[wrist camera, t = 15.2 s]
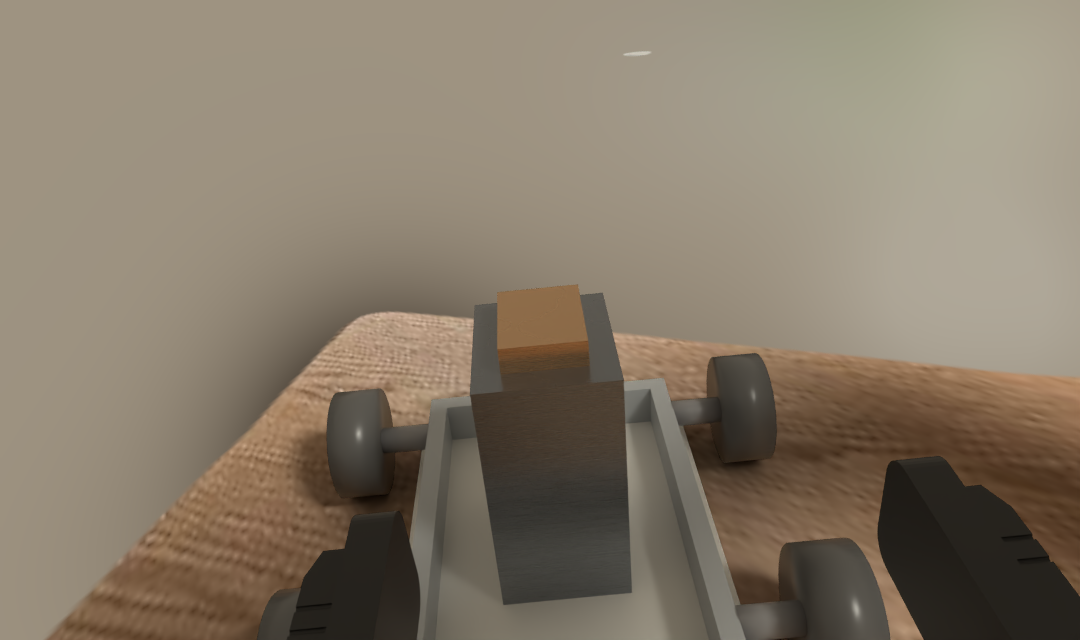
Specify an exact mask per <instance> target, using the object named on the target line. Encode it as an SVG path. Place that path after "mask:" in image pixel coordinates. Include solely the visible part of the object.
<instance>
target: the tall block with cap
mask: <svg viewBox="0 0 1080 640" xmlns="http://www.w3.org/2000/svg"><path fill="white" fill-rule="evenodd" d="M497 294H498V295H497V296H498V297H497V303H493V304H483V305H475V311H474V329H473V348H472V366H471V384H470V398H471V405H472V411H473V417H474V423H475V430H476V436H477V442H478V449H479V455H480V461H481V467H482V474H483V480H484V486H485V493H486V499H487V505H488V512H489V518H490V524H491V530H492V537H493V543H494V549H495V556H496V562H497V568H498V574H499V581H500V587H501V593H502V600H503V605H509V604H520V603H530V602H541V601H551V600H562V599H572V598H582V597H593V596H603V595H614V594H624V593H632V580H631V554H630V528H629V502H628V477H627V451H626V425H625V399H624V379H623V375H622V371H621V367H620V362H619V358H618V354H617V350H616V346H615V342H614V338H613V333H612V329H611V326H610V321H609V317H608V313H607V309H606V305H605V300H604V297H603V293H598V294H597V293H596V294H586V295H580V294H579V289H578V285H567V286H557V287H547V288H536V289H526V290H515V291H505V292H498V293H497Z"/></svg>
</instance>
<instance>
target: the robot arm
mask: <svg viewBox="0 0 1080 640" xmlns="http://www.w3.org/2000/svg"><path fill="white" fill-rule="evenodd" d="M878 542H879V548H880V552H881V555H882V559H883V561H884V564H885V566H886V568H887V570H888V572H889V574H890V576H891V578H892V580H893V582H894V583H895V585H896V587H897V589H898V591H899V593H900V595H901V597H902V599H903V601H904V603H905V605H906V606H907V608H908V610H909V612H910V614H911V616H912V618H913V620H914V622H915V624H916V626H917V627H918V629H919V631H920V633H921V635H922V637H923V639H924V640H1080V596H1079V595H1078V594H1077V592H1076V591H1075V590H1074V588H1073V587H1072V586H1071V584H1070V583H1069V582H1068V580H1067V579H1066V578H1065V576H1064V575H1063V574H1062V572H1061V571H1060V570H1059V569H1058V567H1057V566H1056V565H1055V563H1054V562H1050V560H1049V555H1048V554H1047V553H1046V551H1045V550H1044V549H1043V547H1042V546H1041V545H1040V544H1039V542H1038V541H1037V540H1036V539H1033V537H1032V533H1031V532H1030V530H1029V529H1028V528H1027V526H1026V525H1025V524H1024V522H1023V521H1022V520H1021V518H1020V517H1019V516H1018V515H1017V513H1016V512H1015V511H1014V509H1013V508H1012V507H1011V506H1010V505H1008V504H1007V503H1005V502H1004V501H1003V500H1001V499H1000V498H998V497H997V496H996V495H994V494H993V493H991V492H990V491H989V490H987V489H986V488H984V487H983V486H982V485H975V486H966V487H965V486H964V485H963V483H962V482H961V480H960V479H959V478H958V476H957V475H956V473H955V472H954V471H953V469H952V468H951V466H950V465H949V464H948V462H947V461H946V460H945V459H944V458H942V457H940V456H934V457H924V458H915V459H905V460H895V461H891V462H890V463H889V465H888V467H887V472H886V478H885V484H884V490H883V497H882V503H881V509H880V516H879V522H878ZM419 616H420V583H419V576H418V572H417V568H416V564H415V560H414V557H413V553H412V549H411V546H410V542H409V538H408V535H407V531H406V527H405V524H404V520H403V517H402V514H401V513H400V511H391V512H381V513H371V514H362V515H355V516H354V517H353V518H352V520H351V523H350V527H349V532H348V536H347V540H346V545H345V549H338V550H329V551H323V552H322V554H321V555H320V556H319V558H318V559H317V560H316V562H315V563H314V565H313V566H312V567H311V569H310V570H309V571H308V573H307V574H306V575H305V577H304V579H303V582H302V586H301V590H300V593H299V597H298V600H297V604H296V612H294V615H293V618H292V622H291V625H290V629H289V632H290V634H289V636H288V637H287V640H417V634H418V625H419Z"/></svg>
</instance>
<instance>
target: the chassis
mask: <svg viewBox="0 0 1080 640" xmlns="http://www.w3.org/2000/svg"><path fill="white" fill-rule="evenodd" d="M624 399H625V425H626V451H627V477H628V502H629V528H630V554H631V580H632V593H624V594H614V595H603V596H593V597H582V598H572V599H562V600H551V601H541V602H530V603H520V604H509V605H503V600H502V593H501V587H500V581H499V574H498V568H497V562H496V556H495V549H494V543H493V537H492V530H491V524H490V518H489V512H488V505H487V499H486V493H485V486H484V480H483V474H482V467H481V461H480V455H479V449H478V442H477V436H476V430H475V423H474V417H473V411H472V405H471V398H470V396H466V397H456V398H445V399H434V400H432V402H431V409H430V417H429V424H422V425H412V426H401V427H393V423H392V416H391V411H390V407H389V403H388V400H387V397H386V395H385V393H384V391H383V390H382V389H369V390H359V391H348V392H338V393H336V394H335V395H334V396H333V398H332V400H331V403H330V407H329V412H328V419H327V452H328V461H329V468H330V473H331V477H332V481H333V484H334V487H335V489H336V491H337V493H338V494H339V496H340V497H341V498H351V497H362V496H373V495H384V494H388V493H389V492H390V490H391V487H392V483H393V478H394V468H395V453H396V452H407V451H417V450H422V452H421V459H420V467H419V474H418V481H417V488H416V496H415V503H414V510H413V517H412V525H411V532H410V539H409V542H410V546H411V549H412V553H413V557H414V560H415V564H416V568H417V572H418V576H419V583H420V616H419V625H418V634H417V640H774V639H784V638H787V639H788V640H890V632H889V626H888V620H887V616H886V611H885V607H884V603H883V599H882V596H881V593H880V589H879V586H878V584H877V581H876V578H875V576H874V573H873V571H872V569H871V566H870V564H869V562H868V560H867V559H866V557H865V555H864V553H863V552H862V551H861V549H860V548H859V547H858V545H857V544H856V543H855V542H854V541H852V540H851V539H849V538H834V539H824V540H813V541H802V542H791V543H786V544H785V545H784V546H783V547H782V550H781V553H780V558H779V572H778V577H779V593H780V601H776V602H765V603H754V604H743V605H740V602H739V598H738V595H737V592H736V589H735V586H734V583H733V580H732V577H731V574H730V570H729V567H728V564H727V561H726V558H725V555H724V552H723V549H722V546H721V542H720V539H719V536H718V533H717V530H716V527H715V524H714V521H713V518H712V514H711V511H710V508H709V505H708V502H707V499H706V496H705V493H704V489H703V486H702V483H701V480H700V477H699V474H698V471H697V468H696V465H695V461H694V458H693V455H692V452H691V449H690V446H689V443H688V440H687V437H686V433H685V430H684V427H683V426H685V425H695V424H706V423H710V425H711V430H712V435H713V439H714V442H715V446H716V449H717V452H718V454H719V456H720V458H721V460H722V461H723V462H725V463H727V462H738V461H749V460H759V459H769V458H771V456H772V455H773V453H774V449H775V445H776V433H777V424H776V410H775V402H774V395H773V390H772V386H771V381H770V378H769V374H768V371H767V369H766V366H765V364H764V362H763V360H762V358H761V357H760V356H759V355H758V354H756V353H752V354H741V355H731V356H720V357H712V358H711V359H710V361H709V364H708V369H707V398H700V399H689V400H678V401H671V400H670V396H669V393H668V390H667V387H666V384H665V380H664V378H658V379H647V380H636V381H626V382H624ZM300 590H301V588H293V589H282V590H279V591H277V592H276V593H274V595H273V596H272V597H271V598H270V600H269V602H268V604H267V606H266V608H265V611H264V613H263V616H262V620H261V623H260V627H259V631H258V636H257V640H287V637H288V636H289V634H290V632H289V629H290V625H291V622H292V618H293V615H294V612H296V604H297V600H298V597H299V593H300Z"/></svg>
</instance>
